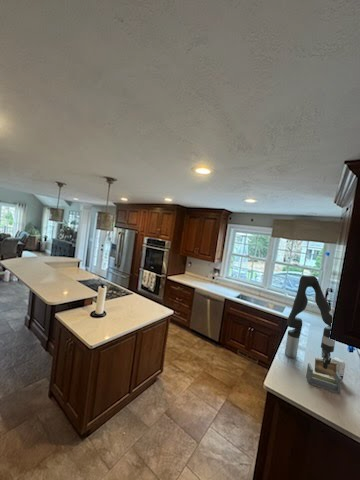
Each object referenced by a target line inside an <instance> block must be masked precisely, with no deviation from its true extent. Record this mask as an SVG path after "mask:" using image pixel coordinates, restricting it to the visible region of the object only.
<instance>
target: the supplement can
mask: <svg viewBox="0 0 360 480" xmlns="http://www.w3.org/2000/svg"><path fill="white" fill-rule="evenodd" d="M331 361H332V362H336V364H337V365H336V371H337V372H338V374H339V376H340V377H341V379H342V380H341V383H343V381H344V375H345V371H346V370H345V368H346V363H345V360H343V359H342V358H339V357H336V356H332V357H331ZM328 377H330V378H333V379H334V377H333V376H329V375H328Z"/></svg>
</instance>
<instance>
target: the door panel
mask: <svg viewBox="0 0 360 480" xmlns="http://www.w3.org/2000/svg"><path fill="white" fill-rule="evenodd" d="M323 365H324V360H323V359H322V358H318V357H315V359H314V373H317V374H320V375H323V376H328V377H329V376H333V377H336V365H337V364H336V362H332V361H330V364H328V366H327V369H325V368H323Z"/></svg>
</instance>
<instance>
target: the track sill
mask: <svg viewBox="0 0 360 480" xmlns="http://www.w3.org/2000/svg"><path fill="white" fill-rule="evenodd" d="M305 376H306V377H305V378H306V379H307V383H308V384H309V385H312V386H315V387H319V388H322V389H324V390H328V391H330V392H332V393H336V394H340V393H341V386H342V382H341V380H342V379H341V377H340V376H339V374H338V372H337V371H336V377H334V379H333V378H330V377H329V376H328V375H324V374H320V373H316V372H315V371H314V370H313V367H312V364H311V363H310V362H307V369H306V375H305Z"/></svg>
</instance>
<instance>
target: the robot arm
mask: <svg viewBox="0 0 360 480" xmlns="http://www.w3.org/2000/svg"><path fill="white" fill-rule="evenodd" d="M297 287H298V288H297V292H296V295H295V298H294V301H293V305H292V308H291V310H290V313H289V314H288V318H287V321H286V322H287V327H289V328H292V329H290V330H288V331H287V336H286V342H285V349H284V354H285V355H286V356H287V357H289V358H291V359H292V358H293V359H297V357H298V350H299V344H300V343H299V342H300V337H301V334H302V333H301V332H302V328H303V320H302V318H300V317H297V316H298V315H299V314H301V313H302V312H303V311H305V310H306V308H307V307H308V295H307V293H306V291H307V288H312V289H313V290H314V300H315V304H316V306H317V308H318V309H319V311H320V315H321V319H322V321H323V322H324V324H325V325H327V326H326V327H324V328H323V333H322V337H321V344H320V348H321V359H323V360H324V365H323V368H325V369H327V366H328V364H330V361H331V359H332V357H331V356H332V355H331V353H333V352H335V345H336V340H335V341H333V340H331V339H329V337H330V331H331V323H332V315H333V314H330V312H331V311H332V308H331V306H330V304H329V303H328V301H327V299H326V297H325V294H324V293H323V290H322V288H321V284H320V283H319V280H318V278H317V277H316V276H315V275H313V274H311V275H310V274H307V275H305V274H303V275H302V276H300V278H299V282H298V286H297Z"/></svg>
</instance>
